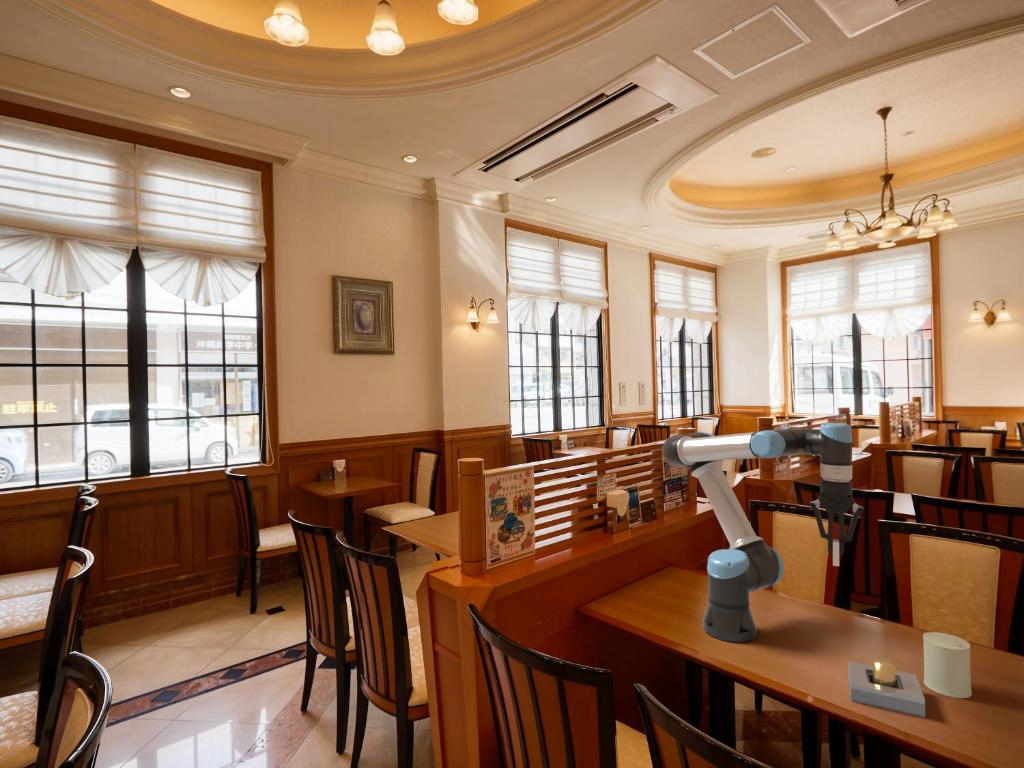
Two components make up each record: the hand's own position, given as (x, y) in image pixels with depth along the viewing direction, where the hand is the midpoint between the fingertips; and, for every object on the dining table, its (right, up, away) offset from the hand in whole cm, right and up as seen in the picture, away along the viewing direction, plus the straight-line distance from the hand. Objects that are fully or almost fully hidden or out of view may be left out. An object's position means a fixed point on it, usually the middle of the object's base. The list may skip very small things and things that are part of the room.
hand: (835, 564), depth 150 cm
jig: (-1, -25, -20) cm, 32 cm away
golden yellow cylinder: (-1, -25, -21) cm, 32 cm away
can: (+17, -25, -17) cm, 34 cm away
